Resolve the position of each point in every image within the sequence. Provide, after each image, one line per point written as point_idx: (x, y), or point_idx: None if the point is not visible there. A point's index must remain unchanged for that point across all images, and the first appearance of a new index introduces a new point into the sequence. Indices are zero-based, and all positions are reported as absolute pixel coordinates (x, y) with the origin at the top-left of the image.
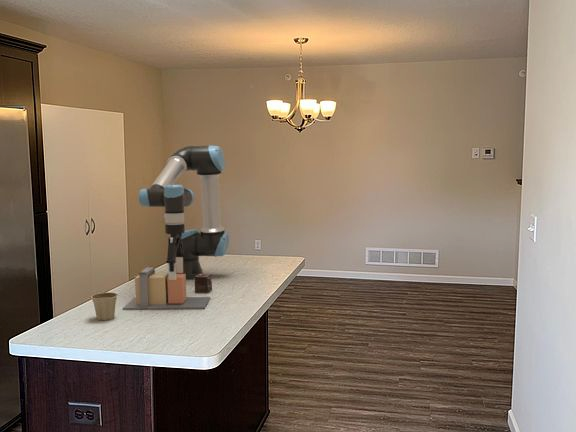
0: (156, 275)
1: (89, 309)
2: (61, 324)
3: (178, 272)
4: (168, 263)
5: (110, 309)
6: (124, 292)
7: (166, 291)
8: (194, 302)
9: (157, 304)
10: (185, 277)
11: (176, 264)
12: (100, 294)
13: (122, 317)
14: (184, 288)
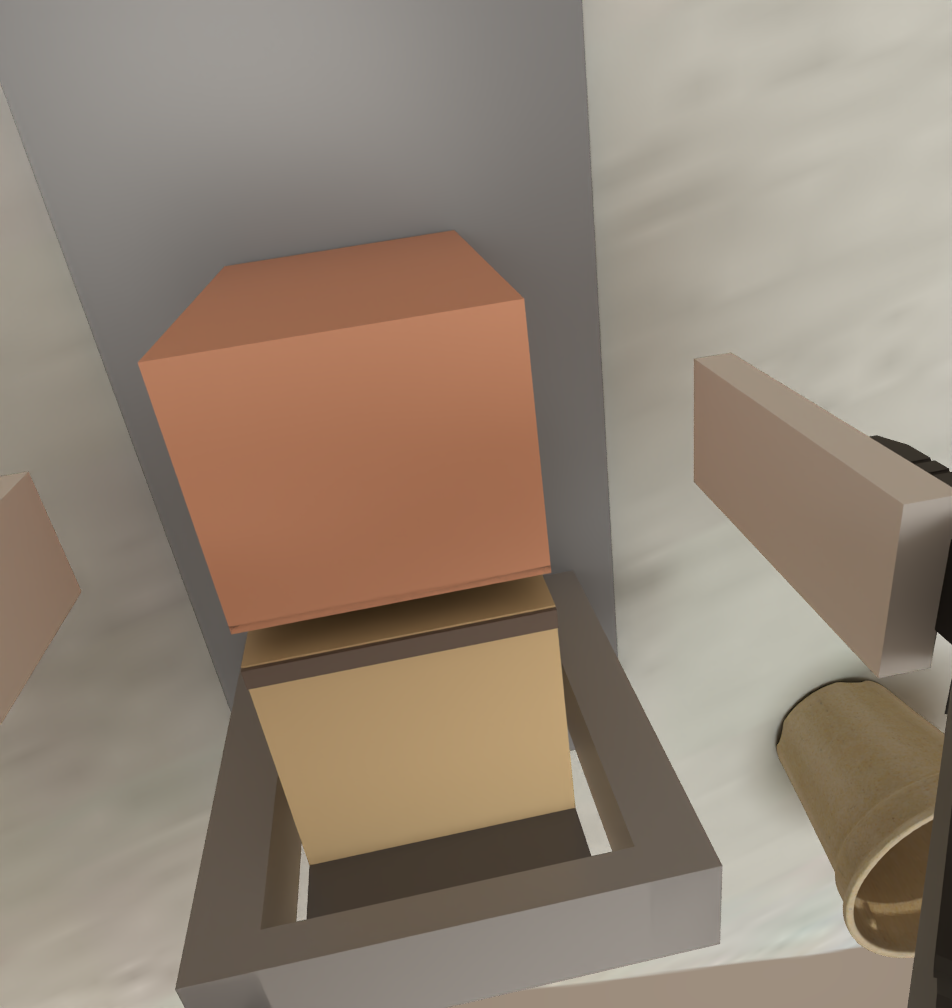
0: (417, 780)
1: None
2: None
3: (62, 556)
4: (929, 662)
5: (942, 733)
6: (53, 968)
7: None
8: (334, 94)
9: None
10: (180, 338)
11: (6, 701)
12: (864, 932)
13: (828, 631)
14: (326, 280)
